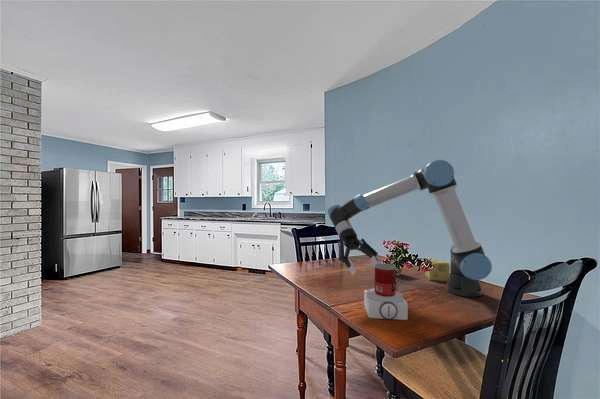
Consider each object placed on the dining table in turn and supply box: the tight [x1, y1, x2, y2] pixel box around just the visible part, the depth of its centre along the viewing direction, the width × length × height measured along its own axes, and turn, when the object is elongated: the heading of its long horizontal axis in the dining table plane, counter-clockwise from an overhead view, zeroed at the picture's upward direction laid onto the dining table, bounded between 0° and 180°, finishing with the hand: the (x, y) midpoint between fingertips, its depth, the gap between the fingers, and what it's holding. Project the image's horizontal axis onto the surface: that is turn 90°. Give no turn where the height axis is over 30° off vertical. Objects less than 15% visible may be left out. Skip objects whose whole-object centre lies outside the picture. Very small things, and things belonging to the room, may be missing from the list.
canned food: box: [374, 263, 397, 297], centre depth 116 cm, size 8×8×11 cm
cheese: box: [424, 258, 450, 282], centre depth 166 cm, size 10×11×10 cm
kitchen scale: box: [363, 288, 409, 321], centre depth 115 cm, size 14×15×7 cm
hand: (367, 271), depth 125 cm, fingers open, 13 cm apart
